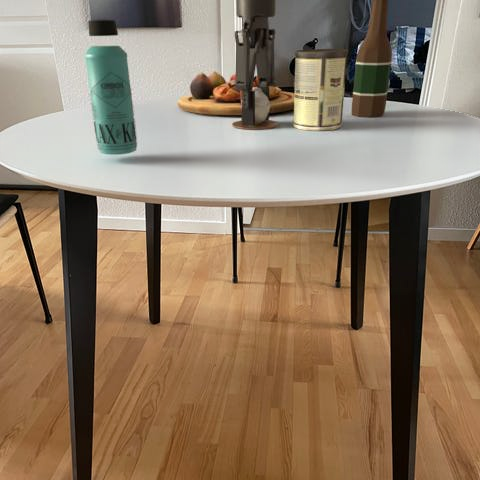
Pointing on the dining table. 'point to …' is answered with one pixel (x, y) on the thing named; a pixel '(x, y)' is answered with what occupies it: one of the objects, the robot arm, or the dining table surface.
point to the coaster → (256, 125)
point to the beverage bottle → (110, 93)
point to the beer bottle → (373, 66)
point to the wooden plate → (227, 96)
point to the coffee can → (319, 89)
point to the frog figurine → (260, 105)
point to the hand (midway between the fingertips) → (255, 121)
